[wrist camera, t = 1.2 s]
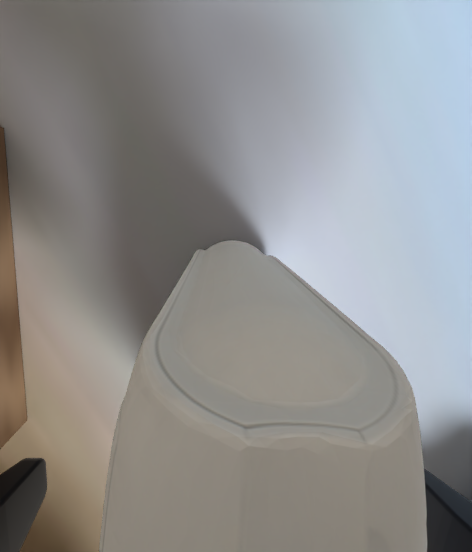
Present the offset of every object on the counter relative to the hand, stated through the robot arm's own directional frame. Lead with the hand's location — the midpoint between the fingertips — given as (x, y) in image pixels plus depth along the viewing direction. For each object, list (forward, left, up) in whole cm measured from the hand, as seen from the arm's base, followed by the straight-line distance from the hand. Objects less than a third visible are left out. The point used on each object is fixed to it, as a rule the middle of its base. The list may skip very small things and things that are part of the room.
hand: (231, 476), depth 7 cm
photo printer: (0, 0, -8) cm, 8 cm away
